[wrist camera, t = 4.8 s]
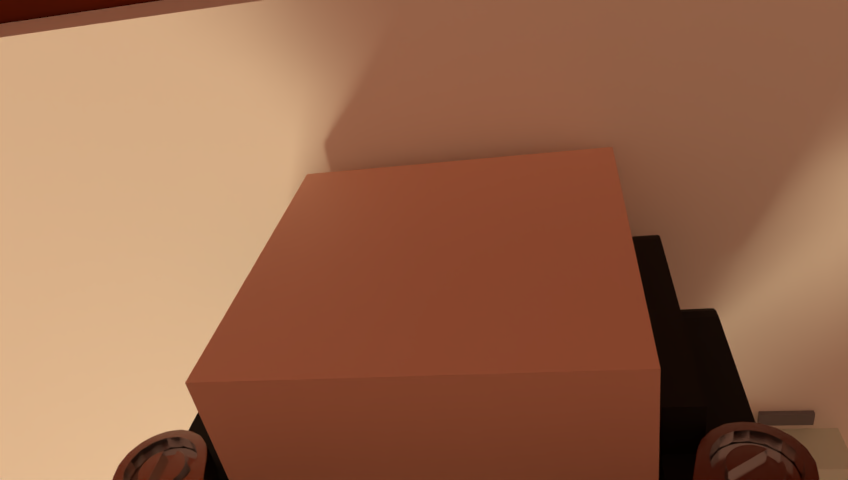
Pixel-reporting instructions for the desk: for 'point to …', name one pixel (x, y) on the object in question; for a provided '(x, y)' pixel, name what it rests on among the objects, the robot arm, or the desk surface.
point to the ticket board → (397, 146)
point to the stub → (441, 330)
